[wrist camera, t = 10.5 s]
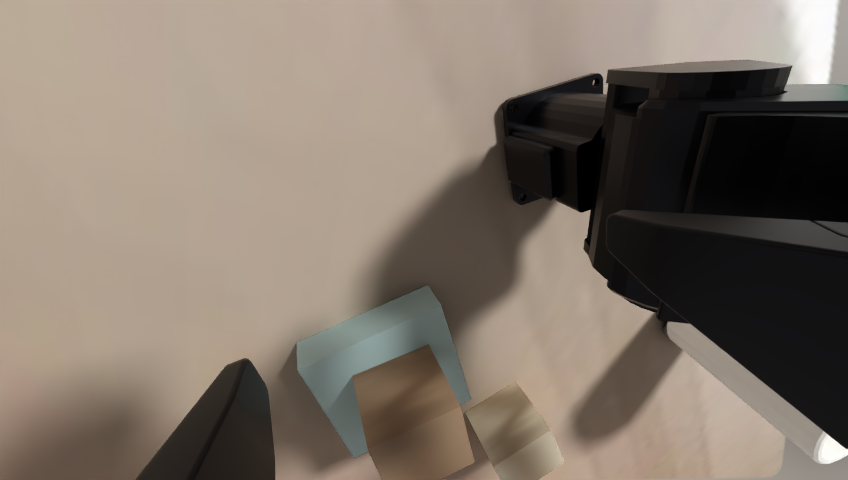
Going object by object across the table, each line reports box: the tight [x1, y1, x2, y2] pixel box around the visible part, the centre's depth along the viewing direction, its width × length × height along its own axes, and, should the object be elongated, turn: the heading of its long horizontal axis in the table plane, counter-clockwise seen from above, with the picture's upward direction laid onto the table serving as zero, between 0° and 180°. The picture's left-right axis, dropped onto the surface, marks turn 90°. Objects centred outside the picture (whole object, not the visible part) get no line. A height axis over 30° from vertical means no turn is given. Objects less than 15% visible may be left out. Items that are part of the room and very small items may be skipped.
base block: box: [296, 285, 471, 458], centre depth 25 cm, size 9×9×3 cm
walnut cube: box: [352, 344, 475, 480], centre depth 22 cm, size 5×5×5 cm
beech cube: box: [465, 381, 564, 480], centre depth 30 cm, size 5×5×5 cm
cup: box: [663, 321, 848, 464], centre depth 29 cm, size 10×10×13 cm
